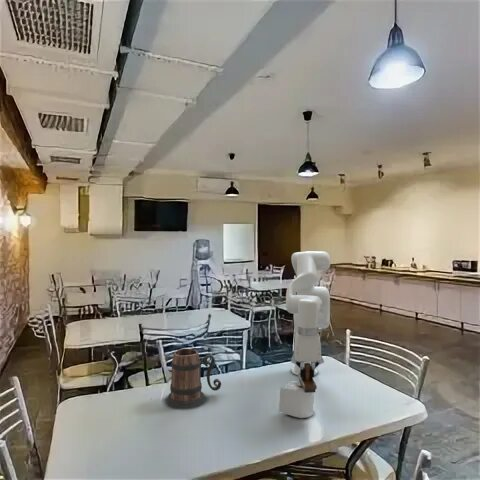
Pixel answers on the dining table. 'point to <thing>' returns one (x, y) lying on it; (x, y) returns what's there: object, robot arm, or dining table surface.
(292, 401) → the toilet tissue
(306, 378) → the brush
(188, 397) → the tankard
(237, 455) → the dining table surface
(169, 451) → the dining table surface
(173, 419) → the dining table surface
